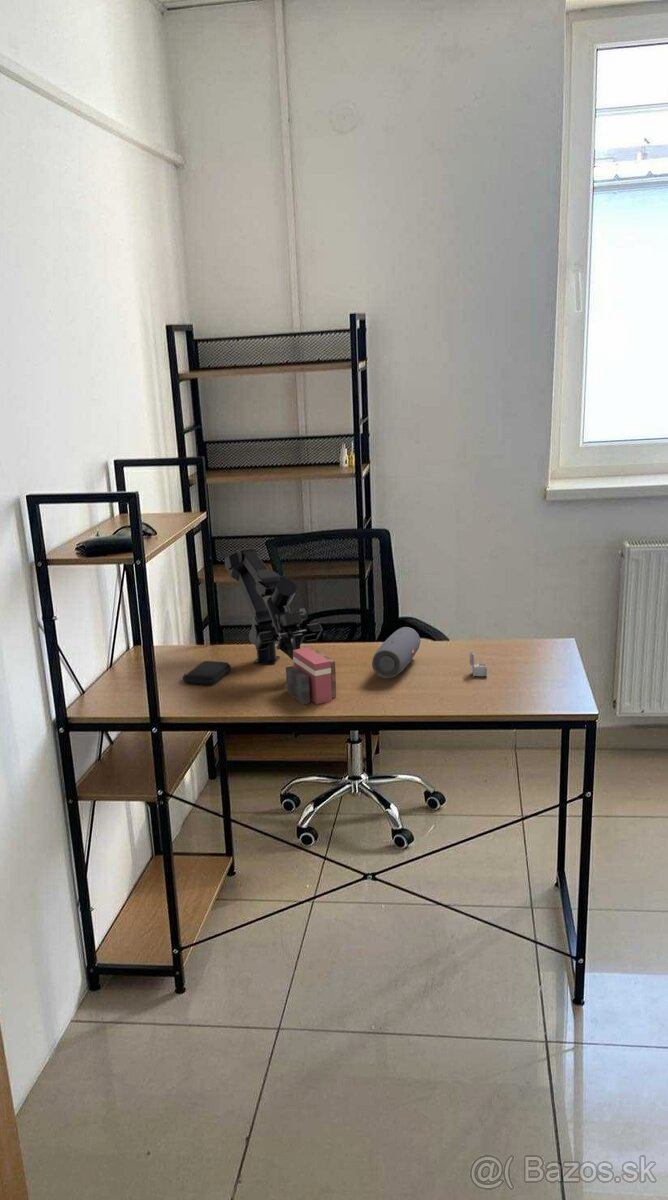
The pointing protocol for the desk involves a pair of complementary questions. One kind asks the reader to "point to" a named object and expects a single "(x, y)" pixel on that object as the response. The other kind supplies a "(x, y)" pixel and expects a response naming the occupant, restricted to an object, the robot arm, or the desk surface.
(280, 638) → the robot arm
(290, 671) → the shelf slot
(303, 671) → the book
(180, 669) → the desk surface
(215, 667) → the carrying case or bag
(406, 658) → the bluetooth speaker
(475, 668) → the architectural model
